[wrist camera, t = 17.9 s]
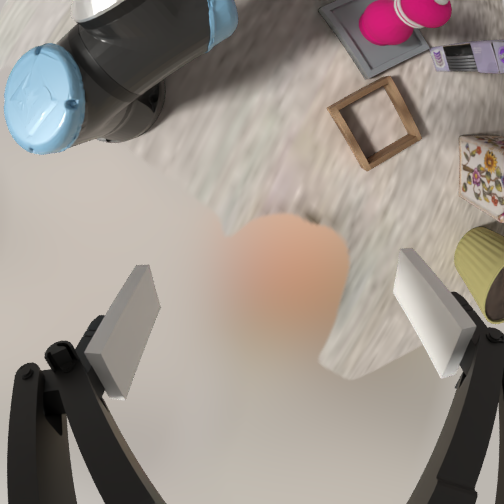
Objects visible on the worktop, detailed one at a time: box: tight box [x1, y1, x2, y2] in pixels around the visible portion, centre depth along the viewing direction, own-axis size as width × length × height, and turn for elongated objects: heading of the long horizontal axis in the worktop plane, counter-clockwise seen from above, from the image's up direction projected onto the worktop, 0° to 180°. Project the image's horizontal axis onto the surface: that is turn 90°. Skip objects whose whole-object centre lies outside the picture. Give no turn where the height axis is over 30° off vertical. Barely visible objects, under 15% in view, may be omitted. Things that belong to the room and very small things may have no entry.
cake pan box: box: [429, 40, 504, 74], centre depth 28 cm, size 19×5×18 cm, turn 112°
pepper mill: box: [359, 0, 452, 46], centre depth 26 cm, size 7×7×20 cm
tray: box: [318, 0, 430, 79], centre depth 36 cm, size 13×13×2 cm
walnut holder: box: [327, 76, 422, 171], centre depth 42 cm, size 11×11×3 cm
